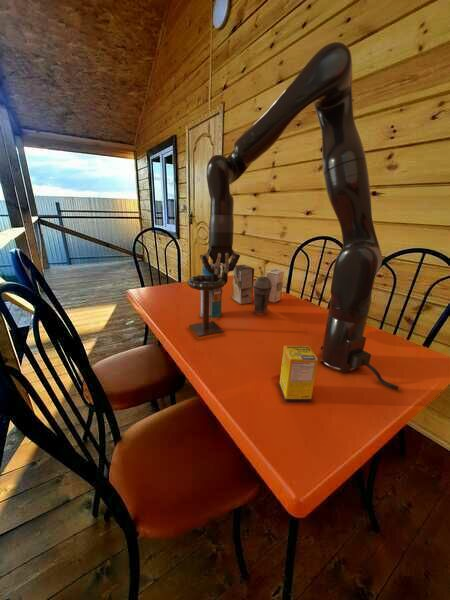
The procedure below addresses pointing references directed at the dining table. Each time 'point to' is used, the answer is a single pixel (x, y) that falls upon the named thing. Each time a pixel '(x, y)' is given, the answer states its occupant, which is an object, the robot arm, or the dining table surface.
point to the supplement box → (298, 373)
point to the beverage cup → (261, 293)
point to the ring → (201, 280)
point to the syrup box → (275, 284)
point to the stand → (205, 320)
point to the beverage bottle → (212, 298)
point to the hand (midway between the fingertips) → (219, 284)
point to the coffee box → (243, 284)
